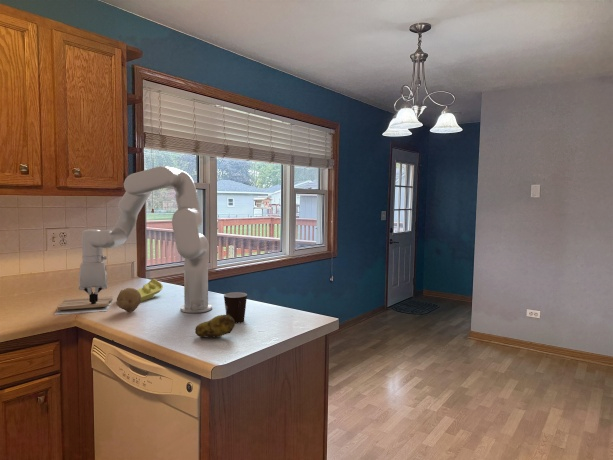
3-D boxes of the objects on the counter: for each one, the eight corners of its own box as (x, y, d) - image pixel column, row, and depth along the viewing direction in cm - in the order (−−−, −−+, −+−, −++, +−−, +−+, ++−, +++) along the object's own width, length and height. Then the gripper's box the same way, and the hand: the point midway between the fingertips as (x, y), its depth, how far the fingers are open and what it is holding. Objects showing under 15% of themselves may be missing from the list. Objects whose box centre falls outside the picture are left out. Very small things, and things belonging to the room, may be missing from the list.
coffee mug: (226, 317, 166) (226, 292, 165) (248, 318, 166) (248, 292, 165) (219, 326, 155) (219, 299, 154) (243, 327, 154) (243, 299, 154)
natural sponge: (131, 316, 167) (131, 291, 166) (111, 314, 169) (111, 289, 168) (145, 310, 176) (145, 286, 175) (126, 309, 178) (126, 285, 177)
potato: (209, 331, 149) (208, 308, 148) (239, 337, 143) (238, 313, 142) (192, 338, 142) (191, 314, 141) (222, 345, 136) (222, 320, 135)
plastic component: (136, 299, 185) (119, 287, 188) (131, 313, 187) (115, 301, 190) (167, 287, 203) (151, 276, 206) (162, 300, 206) (147, 289, 208)
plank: (106, 306, 178) (106, 303, 178) (57, 309, 172) (57, 306, 172) (109, 303, 185) (109, 300, 185) (61, 306, 179) (61, 304, 179)
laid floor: (107, 311, 174) (107, 307, 174) (54, 314, 168) (53, 311, 168) (112, 299, 194) (112, 296, 194) (65, 302, 188) (64, 299, 188)
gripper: (113, 257, 183) (114, 300, 184) (73, 258, 178) (75, 302, 180) (111, 260, 176) (112, 304, 177) (70, 261, 171) (71, 306, 172)
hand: (93, 303), depth 178 cm, fingers closed
